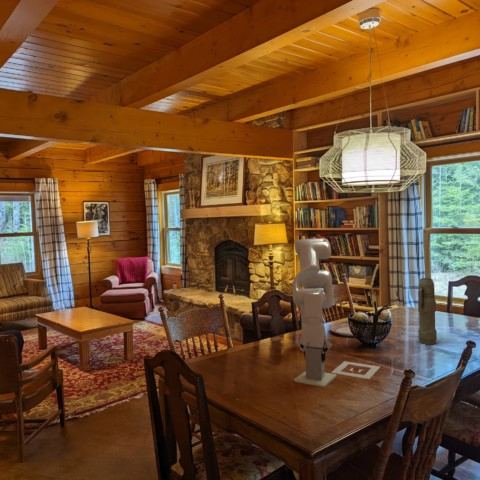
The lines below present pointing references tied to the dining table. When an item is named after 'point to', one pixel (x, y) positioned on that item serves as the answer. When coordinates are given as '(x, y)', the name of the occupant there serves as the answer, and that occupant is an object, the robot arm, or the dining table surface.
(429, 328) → the thermos
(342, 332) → the dinner plate
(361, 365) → the frame
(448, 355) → the dining table surface
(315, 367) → the perfume bottle
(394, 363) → the dining table surface
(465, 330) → the dining table surface
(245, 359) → the dining table surface
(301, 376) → the sage coaster
